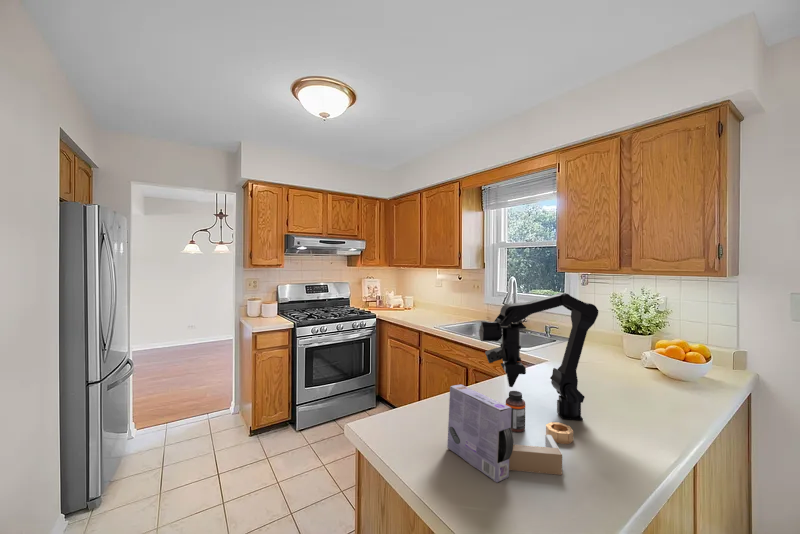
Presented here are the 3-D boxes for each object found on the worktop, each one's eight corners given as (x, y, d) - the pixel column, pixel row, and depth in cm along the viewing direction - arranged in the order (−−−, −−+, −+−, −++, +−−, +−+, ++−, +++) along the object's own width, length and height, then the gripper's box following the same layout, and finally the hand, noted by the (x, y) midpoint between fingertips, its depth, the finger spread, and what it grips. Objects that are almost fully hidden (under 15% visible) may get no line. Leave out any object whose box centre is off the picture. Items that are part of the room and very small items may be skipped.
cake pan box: (514, 479, 81) (514, 406, 81) (500, 486, 78) (500, 411, 78) (459, 443, 97) (459, 382, 97) (446, 449, 95) (446, 386, 95)
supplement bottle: (502, 424, 109) (502, 389, 109) (520, 423, 110) (520, 389, 110) (510, 433, 103) (510, 396, 103) (528, 432, 104) (528, 396, 104)
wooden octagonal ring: (567, 433, 104) (567, 423, 104) (575, 444, 97) (575, 434, 97) (544, 431, 105) (544, 421, 105) (550, 442, 98) (550, 432, 98)
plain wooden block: (551, 447, 96) (551, 429, 96) (566, 475, 83) (566, 455, 83) (492, 442, 98) (493, 425, 98) (498, 469, 85) (499, 449, 85)
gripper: (484, 335, 126) (484, 376, 126) (489, 346, 108) (489, 395, 108) (515, 335, 124) (515, 378, 124) (526, 348, 106) (526, 397, 106)
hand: (510, 386), depth 116 cm, fingers closed
